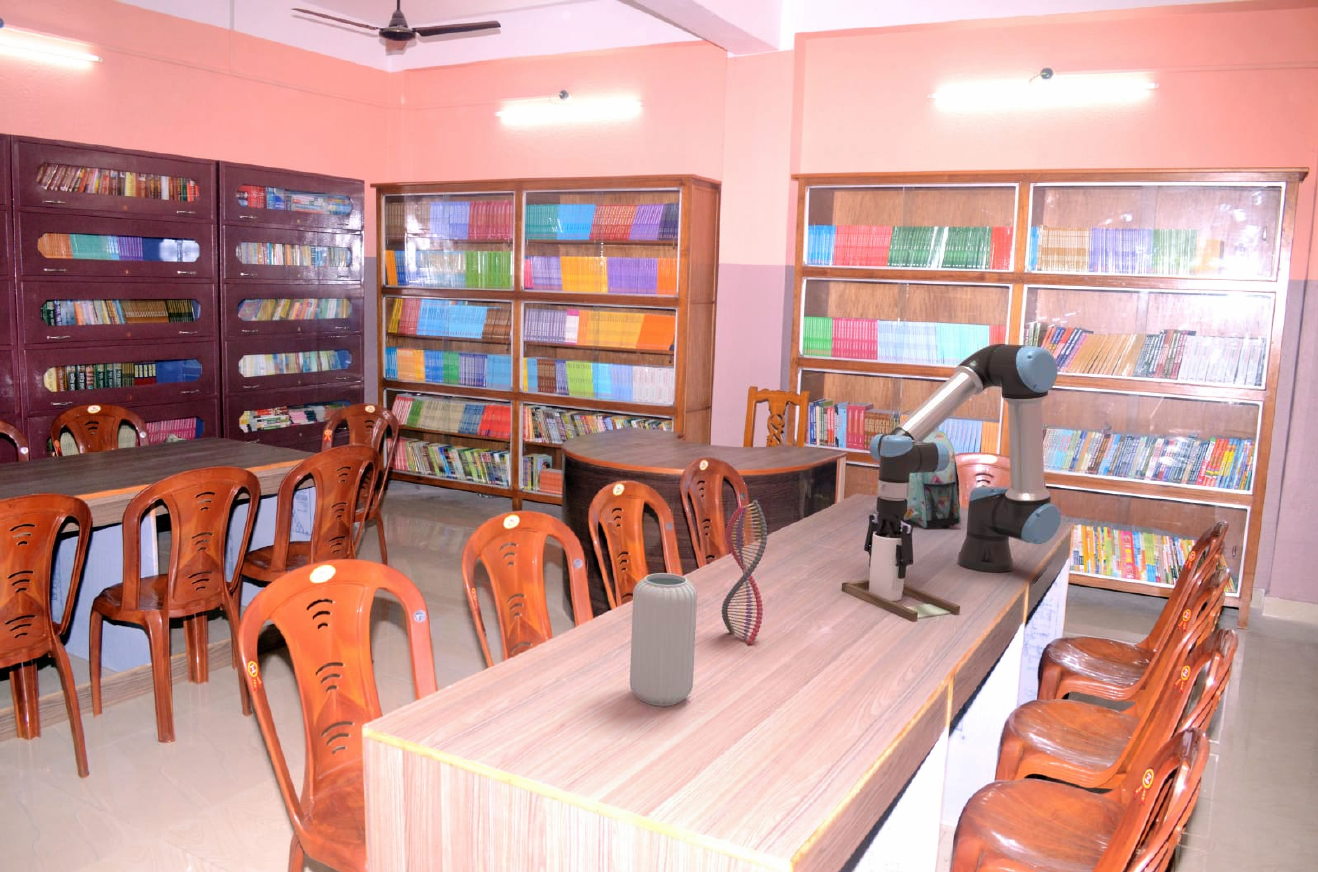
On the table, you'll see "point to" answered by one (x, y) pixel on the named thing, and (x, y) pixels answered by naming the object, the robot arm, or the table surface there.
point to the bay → (912, 613)
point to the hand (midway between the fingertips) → (885, 585)
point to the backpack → (935, 492)
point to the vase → (663, 639)
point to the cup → (884, 567)
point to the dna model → (745, 571)
